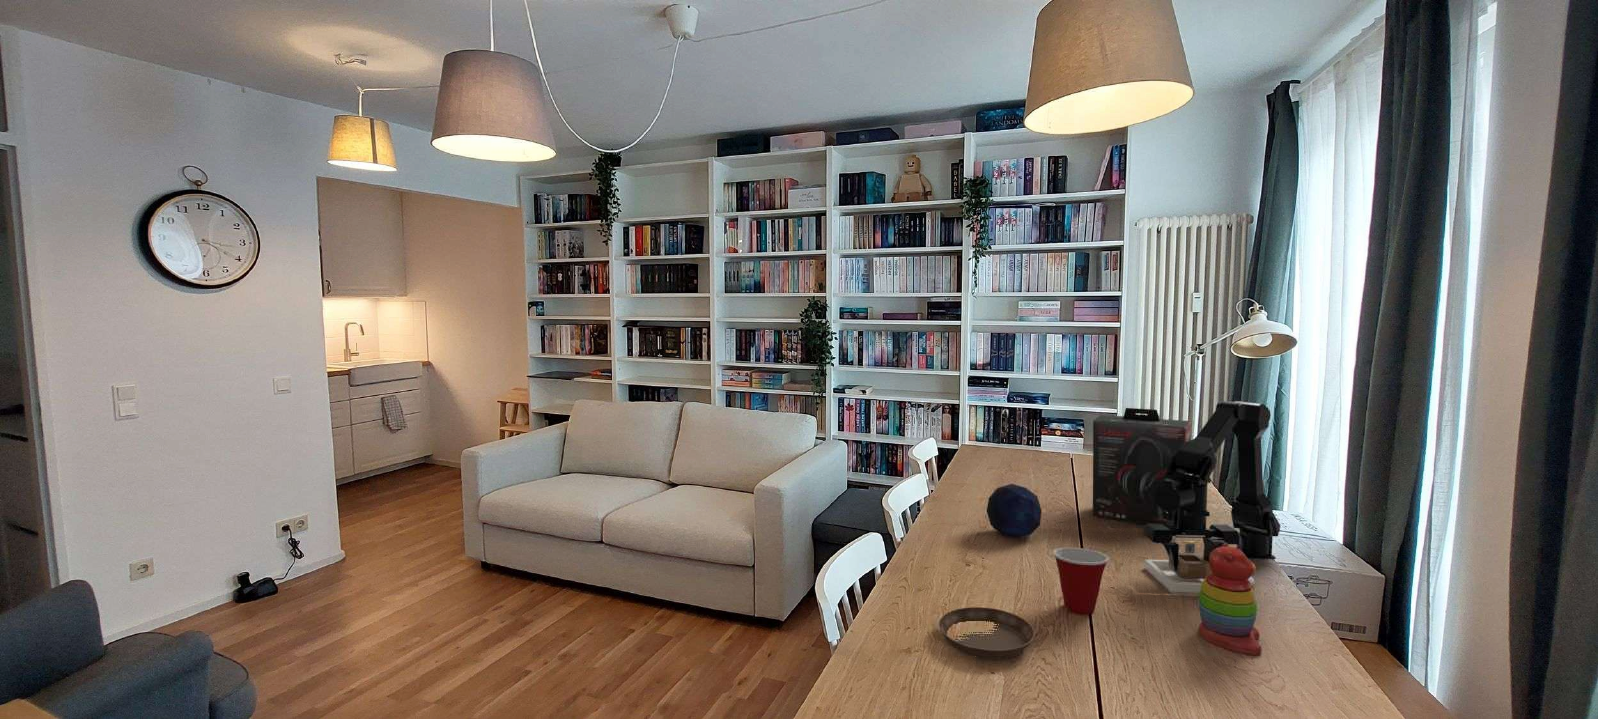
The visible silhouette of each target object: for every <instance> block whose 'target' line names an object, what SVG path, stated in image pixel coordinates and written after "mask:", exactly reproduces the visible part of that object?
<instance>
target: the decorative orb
mask: <svg viewBox="0 0 1598 719" xmlns="http://www.w3.org/2000/svg"><path fill="white" fill-rule="evenodd" d="M986 507H987V508H986V513H987V517H988V521H989V524H990V526H991V527H992V528H993V529H994V530H995V531H997V532H998V533H999V534H1000V535H1001V536H1005V537H1009V538H1011V537H1012V539H1014V538H1018V539H1020V538H1021V537H1022V538H1025V537H1027V536H1031V535H1032V534H1033V533H1034V532H1035V531H1036V530H1037V529H1038V528H1039V527H1040V525H1041V520H1042V519H1041V518H1042V510H1043V509H1042V507H1041V504H1040V500H1039V498H1038V496H1037V495H1036V494H1034V492H1032V491H1031V490H1030V489H1029V488H1027V487H1025V486H1023V485H1022V486H1021V485H1017V484H1014V483H1010V484H1006V485H1003V486H1000V487H997V488H996V489H995V490H994V491H993V492H992V493H991V495H990V496H989V497H988V501H987V506H986ZM1022 538H1021V539H1022Z"/></svg>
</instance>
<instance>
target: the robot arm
mask: <svg viewBox="0 0 1598 719" xmlns="http://www.w3.org/2000/svg"><path fill="white" fill-rule="evenodd" d="M1270 420H1271V411H1270V409H1269V407H1268V406H1266V405H1265V403H1260V402H1259V403H1257V402H1248V401H1247V402H1246V401H1240V400H1238V401H1237V400H1235V401H1227V400H1226V401H1225V400H1224V401H1219V402H1218V403H1217V405H1216V406H1215V411H1214V412H1213V413H1212V415H1211V416H1210V418H1208V420H1207V421H1206V422H1205V424H1204V426H1203V427H1202V428H1201V429H1200V431H1199V432H1198V434H1197V435H1196V436H1195V437H1194V438H1193V439H1190V441H1187V442H1185V443H1183V444H1182V445H1181V446H1180V447H1179V448H1178V449H1177V450H1176V452H1175V453H1174V455H1173V457H1172V459H1171V462H1170V464H1169V466H1168V469H1167V471H1166V474H1165V478H1170V479H1166V480H1164V485H1163V486H1160V487H1159V488H1158V489H1157V490H1156V492H1155V494H1154V498H1155V501H1156V503H1157V505H1158V518H1159V520H1166V522H1167V524H1172V526H1174V527H1177V529H1173V528H1167V527H1166V526H1164V525H1163V524H1144V527H1143V536H1145V537H1146V538H1147V539H1149V541H1151V542H1152V543H1155V544H1161V545H1162V546H1163V547H1164V549H1165V551H1166V554H1167V557H1168V560H1170V562H1171V565H1172V568H1173V570H1175V571H1176V570H1177V566H1178V554H1179V553H1180V545H1179V544H1178V543H1177V542H1176V538H1185V539H1186V538H1187V539H1196V538H1197V539H1202V542H1203V556H1202V557H1203V558H1205V559H1206V560H1207V561H1209V556H1210V554H1211V552H1212V551H1213V550H1214V549H1216V548H1218V547H1222V545H1223V544H1224V543H1228V545H1236V548H1237V549H1239V550H1241V551H1242V552H1243V553H1244V554H1245V556H1246V557H1247V558H1248V559H1253V560H1255V559H1257V560H1258V559H1259V560H1260V559H1261V560H1262V559H1263V560H1264V559H1265V560H1276V559H1277V558H1276V556H1275V555H1273V539H1274V538H1273V537H1277V538H1278V537H1279V534H1280V531H1281V524H1280V522H1279V520H1278V519H1277V517H1276V515H1275V514H1274V511H1273V504H1272V502H1271V501H1270V499H1269V498H1268V496H1267V495H1266V494H1265V493H1264V480H1263V479H1264V478H1263V476H1264V475H1263V474H1264V473H1263V454H1262V453H1263V452H1262V451H1263V450H1262V436H1263V435H1264V433H1265V432H1266V431H1267V429H1269V428H1270V427H1269V423H1270ZM1230 432H1232V433H1233V435H1234V436H1235V437H1236V438H1237V442H1236V443H1237V461H1238V478H1239V479H1238V481H1239V494H1238V495H1237V496H1236V497H1235V499H1234V500H1233V501H1232V502H1231V511H1230V515H1231V522H1232V526H1233V527H1231V526H1230V525H1228V524H1210V526H1209V529H1208V528H1207V517H1210V514H1211V513H1210V511H1208V509H1207V508H1208V506H1207V505H1208V484H1210V483H1212V479H1211V478H1210V477H1211V475H1212V473H1213V472H1214V471H1215V468H1216V464H1217V462H1218V460H1217V456H1216V454H1217V451H1218V450H1219V448H1220V447H1221V446H1222V444H1223V443H1224V441H1225V440H1226V438H1227V437H1228V435H1230ZM1177 470H1178V471H1179V472H1183V473H1179V472H1176V471H1177ZM1184 473H1188V474H1184ZM1189 474H1190V475H1189ZM1236 529H1238V530H1239V531H1238V530H1236Z"/></svg>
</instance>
